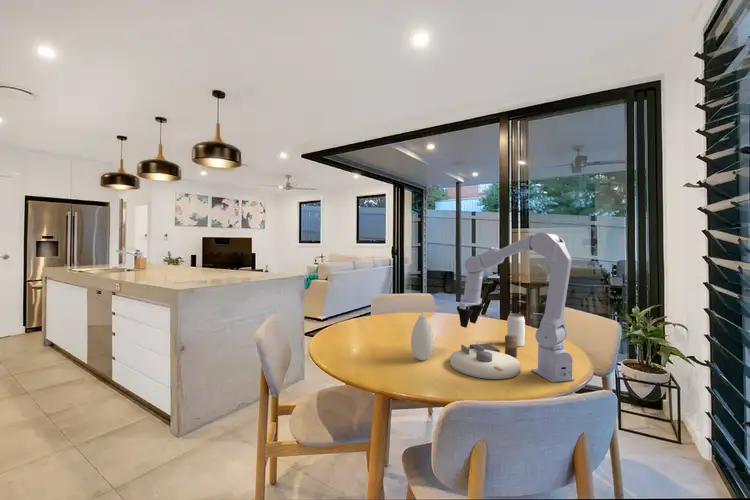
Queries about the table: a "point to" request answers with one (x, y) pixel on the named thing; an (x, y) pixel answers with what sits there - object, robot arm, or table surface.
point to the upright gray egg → (422, 338)
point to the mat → (485, 347)
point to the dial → (484, 363)
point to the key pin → (511, 345)
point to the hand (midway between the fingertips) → (468, 324)
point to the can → (516, 327)
